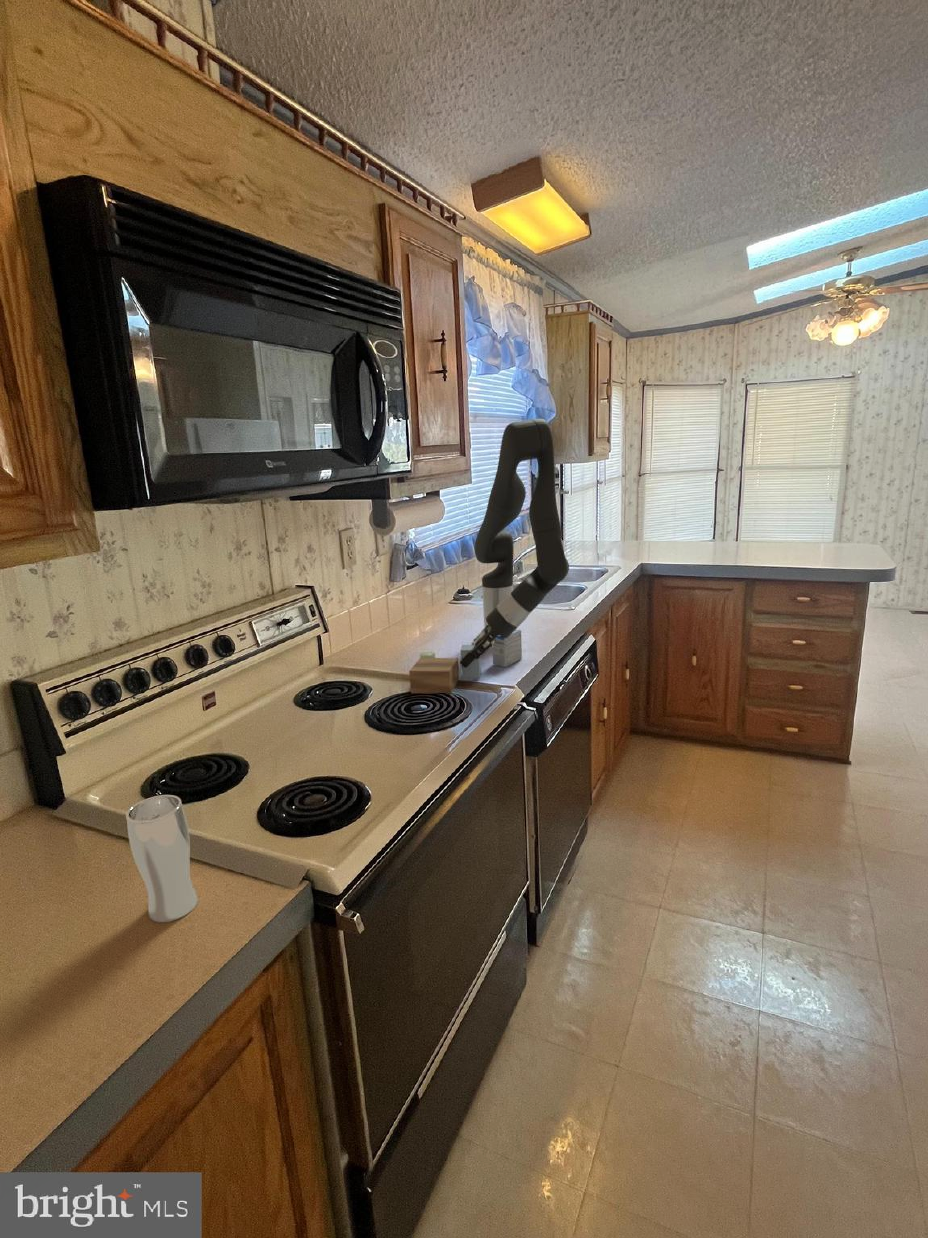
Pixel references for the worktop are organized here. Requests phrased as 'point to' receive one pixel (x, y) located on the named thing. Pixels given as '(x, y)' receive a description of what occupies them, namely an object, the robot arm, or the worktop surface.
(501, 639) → the medicine box
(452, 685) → the walnut block
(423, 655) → the pale small block
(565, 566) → the robot arm
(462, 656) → the slate-blue block
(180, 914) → the beer glass
